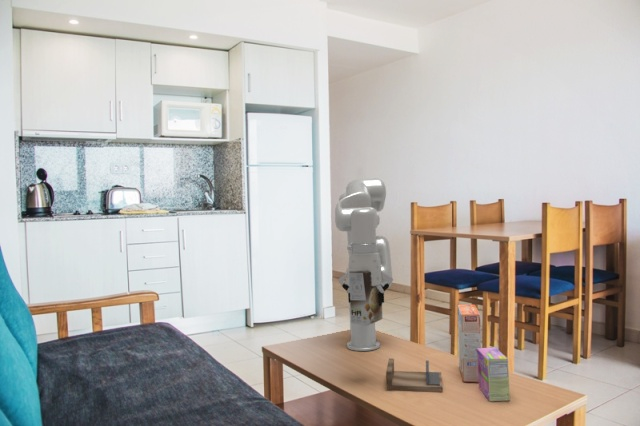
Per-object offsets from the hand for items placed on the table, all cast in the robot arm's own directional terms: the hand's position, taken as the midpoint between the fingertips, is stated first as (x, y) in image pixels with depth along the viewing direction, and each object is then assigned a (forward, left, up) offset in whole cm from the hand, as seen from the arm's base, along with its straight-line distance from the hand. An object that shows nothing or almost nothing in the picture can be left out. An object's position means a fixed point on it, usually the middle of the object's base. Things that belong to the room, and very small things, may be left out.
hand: (366, 304), depth 156 cm
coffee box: (0, 0, -5) cm, 5 cm away
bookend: (+1, +19, -22) cm, 29 cm away
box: (+7, +36, -24) cm, 44 cm away
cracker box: (-8, +31, -24) cm, 40 cm away
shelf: (+1, +14, -24) cm, 28 cm away
